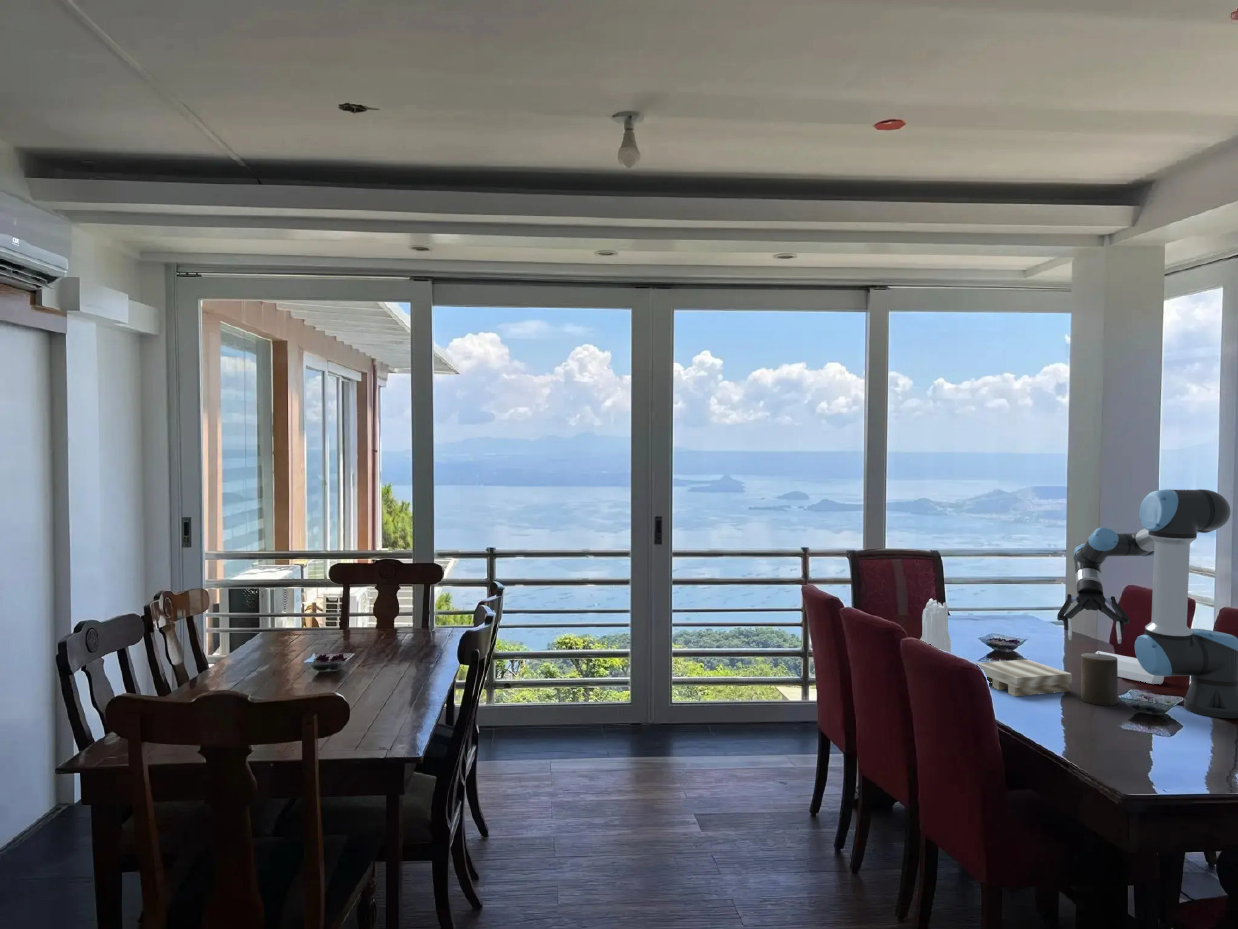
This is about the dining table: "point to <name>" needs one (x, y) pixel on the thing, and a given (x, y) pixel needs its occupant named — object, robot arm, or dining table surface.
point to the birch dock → (1026, 677)
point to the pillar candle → (1099, 679)
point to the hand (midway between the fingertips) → (1094, 639)
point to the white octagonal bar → (1133, 669)
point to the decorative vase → (936, 625)
